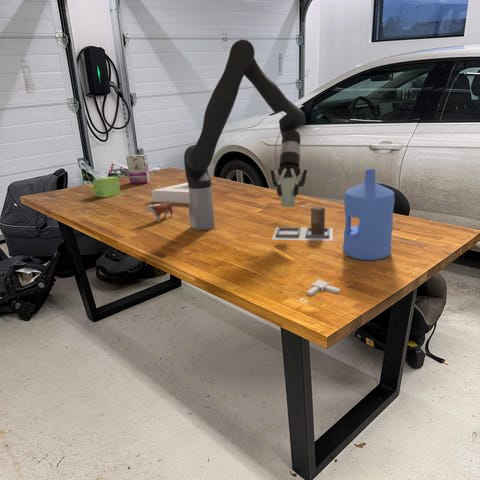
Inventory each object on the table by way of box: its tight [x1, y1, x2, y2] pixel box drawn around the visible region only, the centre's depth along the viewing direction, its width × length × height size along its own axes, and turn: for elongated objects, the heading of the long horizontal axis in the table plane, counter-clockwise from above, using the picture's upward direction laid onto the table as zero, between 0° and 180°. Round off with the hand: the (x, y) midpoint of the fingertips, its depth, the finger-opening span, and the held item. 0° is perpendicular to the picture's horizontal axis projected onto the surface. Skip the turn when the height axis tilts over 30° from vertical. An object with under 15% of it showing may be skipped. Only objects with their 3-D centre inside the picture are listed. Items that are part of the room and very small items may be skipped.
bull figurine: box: [145, 201, 174, 223], centre depth 199 cm, size 4×13×8 cm, turn 137°
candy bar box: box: [126, 154, 151, 185], centre depth 269 cm, size 11×5×16 cm, turn 81°
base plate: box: [271, 226, 334, 242], centre depth 171 cm, size 22×14×2 cm, turn 78°
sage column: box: [280, 177, 296, 208], centre depth 166 cm, size 5×5×10 cm
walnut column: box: [310, 205, 326, 235], centre depth 168 cm, size 5×5×10 cm
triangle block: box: [151, 182, 190, 205], centre depth 235 cm, size 30×26×6 cm
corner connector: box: [306, 279, 341, 296], centre depth 128 cm, size 8×8×2 cm
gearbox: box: [89, 176, 121, 198], centre depth 247 cm, size 18×10×10 cm, turn 143°
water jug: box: [342, 168, 395, 261], centre depth 148 cm, size 16×16×28 cm
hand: (287, 195), depth 165 cm, fingers closed on sage column, 5 cm apart
